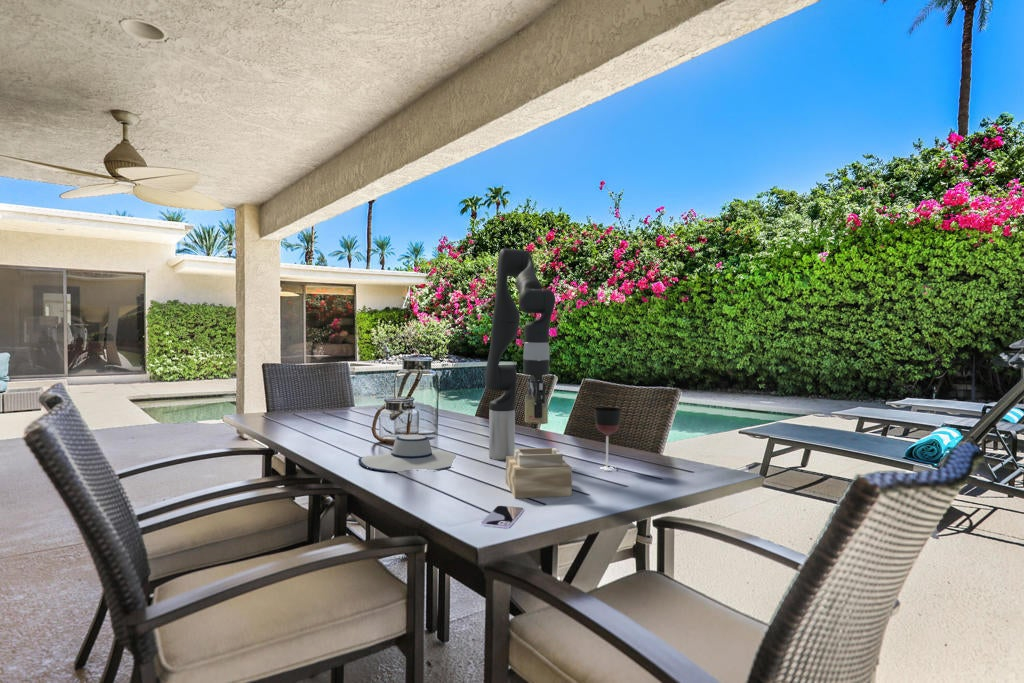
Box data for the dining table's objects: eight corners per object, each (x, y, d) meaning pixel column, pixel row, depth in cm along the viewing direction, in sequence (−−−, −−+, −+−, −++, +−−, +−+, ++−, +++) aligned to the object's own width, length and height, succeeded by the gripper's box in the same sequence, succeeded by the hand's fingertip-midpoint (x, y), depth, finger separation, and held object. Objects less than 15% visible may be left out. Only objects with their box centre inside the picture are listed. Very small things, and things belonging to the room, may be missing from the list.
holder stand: (505, 482, 177) (506, 446, 176) (557, 480, 179) (557, 445, 179) (515, 498, 161) (515, 458, 161) (571, 495, 164) (571, 456, 163)
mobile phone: (525, 506, 151) (509, 526, 137) (525, 510, 151) (509, 530, 137) (497, 504, 154) (478, 523, 139) (497, 508, 154) (478, 527, 139)
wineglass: (620, 472, 190) (620, 411, 189) (593, 471, 192) (593, 410, 191) (620, 466, 198) (621, 407, 197) (594, 465, 199) (595, 407, 199)
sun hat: (370, 480, 181) (370, 451, 181) (350, 456, 214) (349, 431, 214) (478, 468, 197) (478, 441, 196) (444, 447, 229) (444, 424, 229)
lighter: (549, 423, 169) (550, 388, 169) (544, 425, 166) (544, 390, 166) (528, 421, 173) (528, 387, 173) (522, 422, 170) (522, 388, 169)
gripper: (519, 356, 175) (518, 412, 176) (528, 359, 161) (527, 420, 162) (543, 356, 177) (543, 412, 177) (554, 359, 162) (554, 420, 163)
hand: (535, 416), depth 170 cm, fingers closed on lighter, 5 cm apart
